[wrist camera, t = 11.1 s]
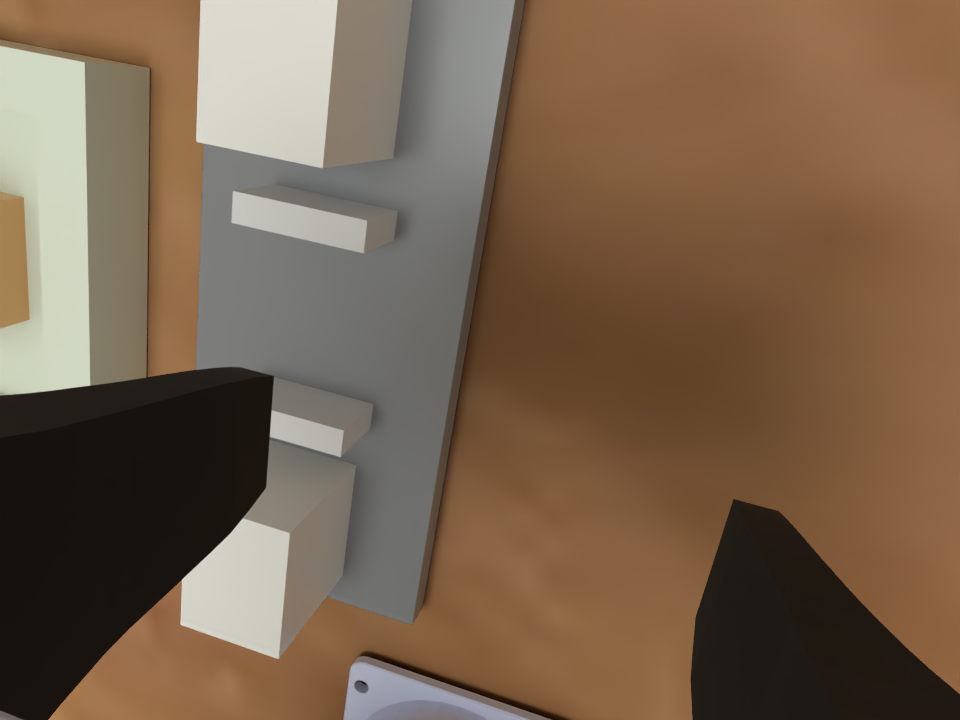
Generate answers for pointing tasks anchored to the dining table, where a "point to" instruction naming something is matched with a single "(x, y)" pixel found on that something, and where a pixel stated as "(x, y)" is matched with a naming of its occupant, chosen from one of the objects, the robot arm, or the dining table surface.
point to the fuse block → (342, 284)
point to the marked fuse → (13, 261)
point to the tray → (76, 216)
